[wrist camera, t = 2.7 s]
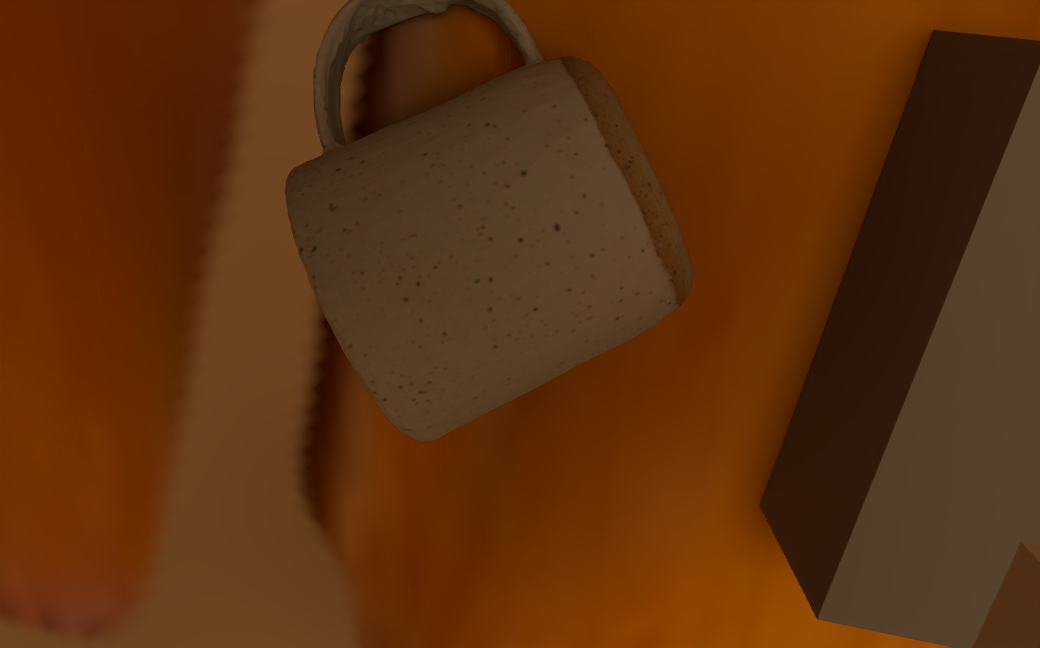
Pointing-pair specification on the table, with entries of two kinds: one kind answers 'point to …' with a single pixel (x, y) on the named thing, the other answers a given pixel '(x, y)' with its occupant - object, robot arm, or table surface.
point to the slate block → (928, 366)
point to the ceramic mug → (481, 230)
